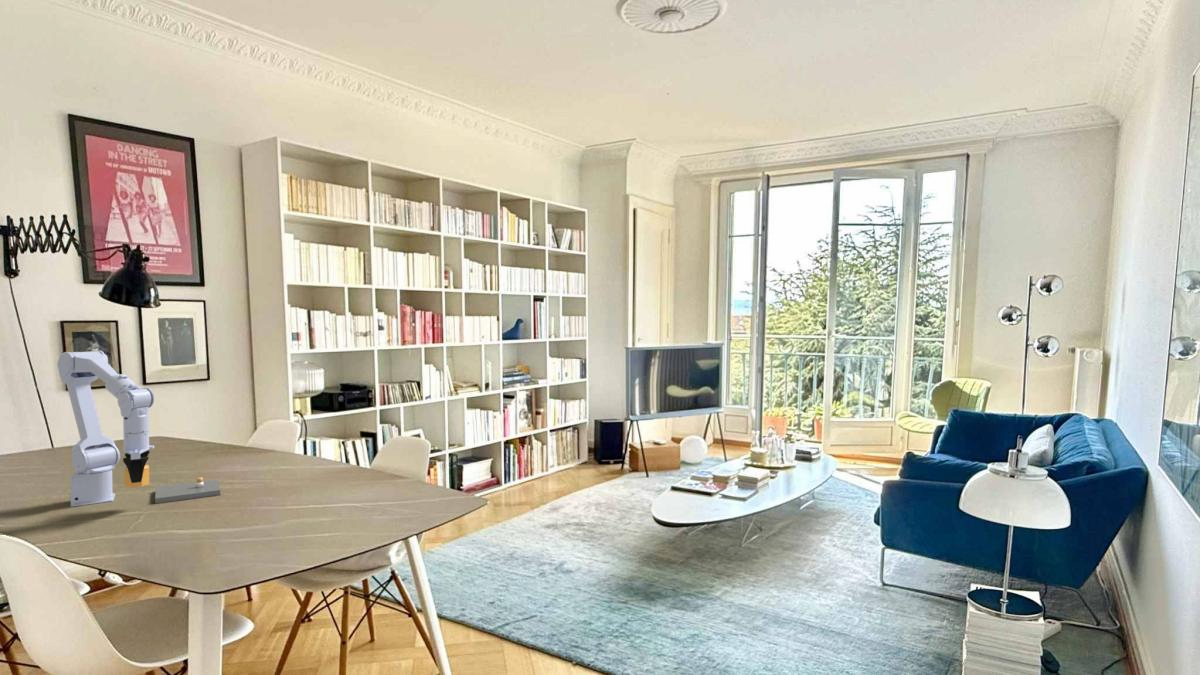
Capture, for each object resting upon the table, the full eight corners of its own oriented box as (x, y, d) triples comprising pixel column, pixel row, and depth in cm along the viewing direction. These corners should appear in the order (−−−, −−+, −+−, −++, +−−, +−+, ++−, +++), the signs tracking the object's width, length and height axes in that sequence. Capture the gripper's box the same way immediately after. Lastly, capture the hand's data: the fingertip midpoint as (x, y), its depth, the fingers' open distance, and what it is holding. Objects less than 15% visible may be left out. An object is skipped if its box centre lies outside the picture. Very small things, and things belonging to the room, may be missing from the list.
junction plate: (155, 503, 176) (155, 488, 175) (156, 491, 187) (155, 477, 187) (220, 494, 185) (220, 480, 185) (217, 483, 196) (217, 470, 196)
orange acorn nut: (124, 488, 168) (124, 470, 167) (125, 483, 172) (125, 466, 172) (148, 485, 171) (148, 467, 171) (149, 481, 175) (149, 463, 175)
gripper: (153, 434, 167) (154, 483, 168) (154, 426, 179) (155, 471, 180) (120, 437, 163) (121, 487, 164) (124, 428, 175) (124, 475, 175)
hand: (136, 479), depth 171 cm, fingers closed on orange acorn nut, 5 cm apart
